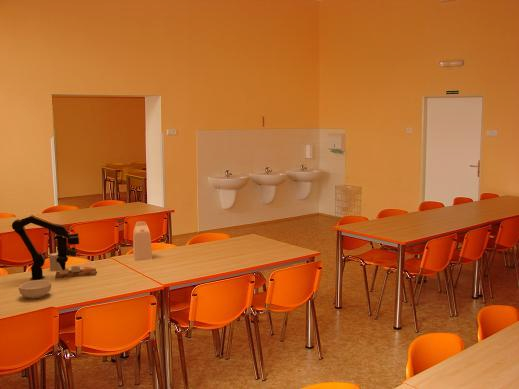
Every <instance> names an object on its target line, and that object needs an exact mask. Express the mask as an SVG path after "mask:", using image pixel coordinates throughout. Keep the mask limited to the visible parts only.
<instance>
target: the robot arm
mask: <svg viewBox="0 0 519 389" xmlns="http://www.w3.org/2000/svg"><path fill="white" fill-rule="evenodd" d="M29 224H33V225H36V226H39V227H41V228H44V229H46V230H49V231H51V232H53V233H54V234H55V236H53V240H56V245H57V246H56V247H57V248H56V249H57V253H58V257H57V259H56V260H57V262H59V264H60V266H61V267H62V269H63V270H65V269H66V262H68V261H69V256H71V257H74V258H75V257H77V256H76V255H77V252H78V250H77V249H76V247H74V245H79V244H80V237H79V233H70V232H69V231H68V230H67V228H66V226H65V225H63V224H59V223H53V222H49V221H47V220H44V219H41V218H39V217H35V216H34V215H30V216H27V217H24V218H21V219H19V218H17V219H15V220H14V221H13V222H12V224H11V228H12V230H14V232H15V233H17V235H19V236H20V239H21V240H22V242H23V243H24V245H25V247H26V248H27V250H28V252H29V254H30V255H31V259H32V262H33V263H32V265H31V267H30V269H31V270H30V271H31V278H29V280H30V281H34V280H43V279H44V278H45V277H46V276H44V275H43V268H42V267H43V266H44V265H45V262H46V259H45V258H46V256H44V254H43V251H41V252H39V251H38V250H37V248H36V246H35V244H34V243H33V241H32V240H31V238H30V237H29V235H28V233H27V230H26V226H27V225H29ZM68 245H70V246H72V245H73V246H72V248H69V246H68Z"/></svg>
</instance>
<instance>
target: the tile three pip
mask: <svg viewBox="0 0 519 389" xmlns="http://www.w3.org/2000/svg"><path fill="white" fill-rule="evenodd" d="M92 268H93V267H92V266H84V267H82V269H83V272H92Z"/></svg>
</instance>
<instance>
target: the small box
mask: <svg viewBox="0 0 519 389" xmlns="http://www.w3.org/2000/svg"><path fill="white" fill-rule="evenodd" d="M48 257H49V259H48V260H49V270H50V269H51V270H50V271H54V272H57V271H60V269H62V267H61V266H60V264H59V262H57V260H56V259H57V257H58V252H54V253H50V254H48ZM56 270H57V271H56Z"/></svg>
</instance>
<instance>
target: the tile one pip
mask: <svg viewBox="0 0 519 389" xmlns="http://www.w3.org/2000/svg"><path fill="white" fill-rule="evenodd" d="M58 271H59V272H60V274H68V273H69V268H65V270H63V269H60V270H58Z"/></svg>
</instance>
